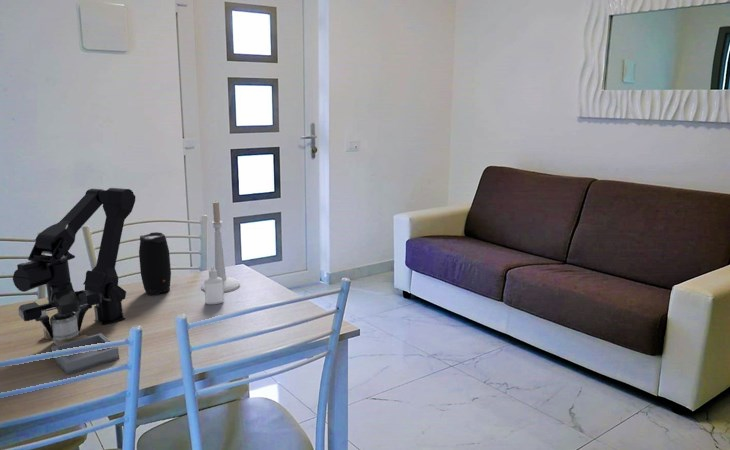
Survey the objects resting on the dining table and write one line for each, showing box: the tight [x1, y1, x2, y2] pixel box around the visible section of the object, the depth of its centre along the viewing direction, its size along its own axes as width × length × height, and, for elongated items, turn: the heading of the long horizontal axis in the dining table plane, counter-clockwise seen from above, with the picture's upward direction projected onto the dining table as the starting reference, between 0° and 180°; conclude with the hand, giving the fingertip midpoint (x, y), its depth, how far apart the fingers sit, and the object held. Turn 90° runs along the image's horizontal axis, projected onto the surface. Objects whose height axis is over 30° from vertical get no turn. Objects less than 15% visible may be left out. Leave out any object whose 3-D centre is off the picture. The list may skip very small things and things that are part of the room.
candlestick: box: [201, 200, 241, 294], centre depth 188 cm, size 13×13×30 cm
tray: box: [51, 332, 120, 376], centre depth 140 cm, size 12×12×3 cm
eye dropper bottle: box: [203, 265, 225, 305], centre depth 176 cm, size 4×6×12 cm
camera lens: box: [49, 312, 79, 346], centre depth 149 cm, size 6×6×8 cm
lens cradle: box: [43, 327, 88, 345], centre depth 150 cm, size 7×14×2 cm, turn 44°
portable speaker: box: [138, 231, 172, 296], centre depth 185 cm, size 9×9×20 cm
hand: (65, 334), depth 149 cm, fingers closed on camera lens, 6 cm apart
